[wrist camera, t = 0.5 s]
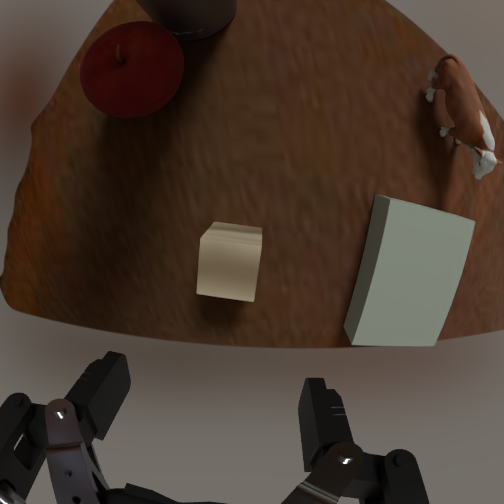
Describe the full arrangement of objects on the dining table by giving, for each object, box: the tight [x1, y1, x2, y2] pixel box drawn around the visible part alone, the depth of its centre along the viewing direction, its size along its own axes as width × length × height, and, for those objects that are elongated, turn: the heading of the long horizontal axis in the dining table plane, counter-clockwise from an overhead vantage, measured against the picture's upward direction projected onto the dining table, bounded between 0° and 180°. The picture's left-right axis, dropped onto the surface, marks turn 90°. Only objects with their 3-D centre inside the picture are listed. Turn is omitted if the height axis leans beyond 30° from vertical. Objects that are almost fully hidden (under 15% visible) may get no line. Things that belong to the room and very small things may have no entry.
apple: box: [80, 21, 184, 118], centre depth 21 cm, size 10×10×10 cm
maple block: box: [197, 222, 262, 302], centre depth 27 cm, size 5×5×7 cm
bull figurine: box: [426, 54, 502, 180], centre depth 21 cm, size 4×13×8 cm, turn 17°
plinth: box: [343, 194, 475, 346], centre depth 29 cm, size 16×12×4 cm
